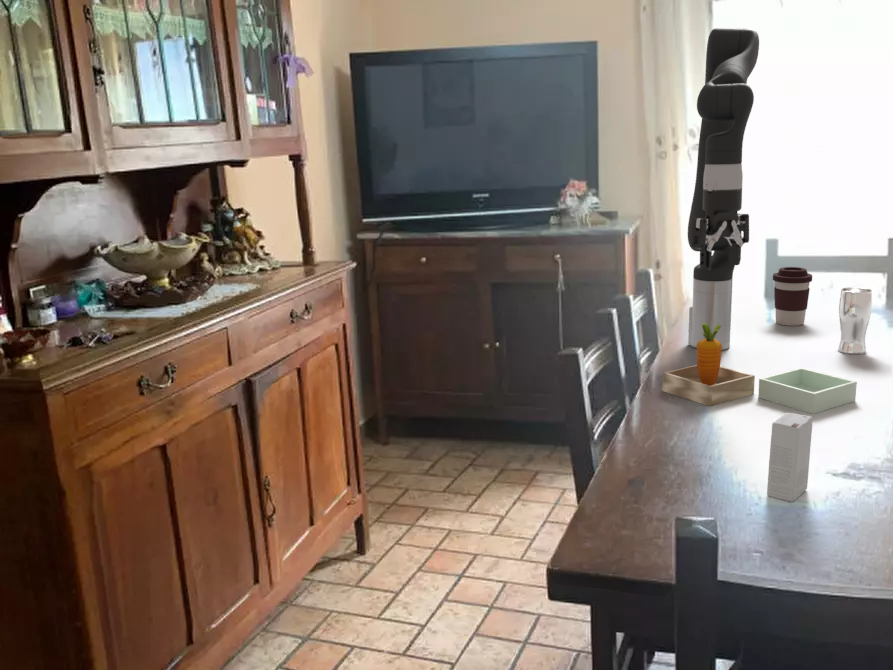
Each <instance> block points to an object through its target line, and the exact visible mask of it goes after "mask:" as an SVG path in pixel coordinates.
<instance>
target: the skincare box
mask: <svg viewBox="0 0 893 670" xmlns="http://www.w3.org/2000/svg"><path fill="white" fill-rule="evenodd" d="M813 420H814V419H813V417H812V416H809V415H804V414H798V413H792V412H785V413H784V414H782V415H781V416H780V417H779V418H777V419H776V420H775V421H773V422H772V424H771V435H770V436H771V437H770V449H769V459H768V460H769V462H768V475H767V488H766V489H767V490H766V495H767V496H768V497H771V498H774V499H778V500H782V501H787V502H791V503H792V502H794V501H796V499H798V498H799V497H800V496H801V495H802V494H803V493H805V491H806V490H807V489H808V484H809V483H808V481H809V472H810V471H809V470H810V469H809V468H810V459H811V458H810V457H811V445H812V443H811V442H812V434H813V432H812V431H813V422H814V421H813Z"/></svg>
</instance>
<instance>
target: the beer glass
mask: <svg viewBox="0 0 893 670" xmlns="http://www.w3.org/2000/svg"><path fill="white" fill-rule="evenodd" d="M872 298H873V297H872V289H870V288H865V287H859V286H858V287H854V286H852V287H842V288H841V290H840V298H839V306H838V316H839V317H838V318H839V326H840V341H839V346H838V349H837V350H838V352H839V353H841V354H846V355H863V354H866V353H867V347H866V334H867V330H868V328H869V327H868V326H869V323H870V319H871V314H872V307H873V306H872V304H873V301H872V300H873V299H872Z"/></svg>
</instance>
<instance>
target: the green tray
mask: <svg viewBox="0 0 893 670" xmlns="http://www.w3.org/2000/svg"><path fill="white" fill-rule="evenodd" d="M857 383H858V382H857V381H855V380H852V379H847V378H844V377H839V376H835V375H831V374H827V373H823V372H820V371H815V370H811V369H808V368H802V367H799V368H795V369H791V370H788V371H784V372H779V373H776V374H771V375H768V376H765V377H764V376H763V377H761V378H759V379H758V396H757V397H758V398H759V399H763V400H766V401H769V402H772V403H775V404H776V403H777V404H778V405H783V406H784V407H785V406H786V407H788V408H789V407H790V408H792V409H796V410H799V411H803V412H806V413H810V414H812V415H814V414H817V413H820V412H823V411H826V410H830V409H832V408H836V407H840V406H843V405H846V404H849V403H854V402H856V397H857V396H856V394H857Z"/></svg>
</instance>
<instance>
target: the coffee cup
mask: <svg viewBox="0 0 893 670" xmlns="http://www.w3.org/2000/svg"><path fill="white" fill-rule="evenodd" d="M772 280H773V281H774V289H773V292H774V293H773V294H774V295H773V296H774V309H775V323H777V324H778V325H782V326H789V327H793V326H794V327H799V326H801V325H804V323H805V319H806V314H807V309H808V304H809V303H808V301H809V296H810V283H811V282H812V281H813V274H811V273H809V272H808V270H807V268H804V267H800V266H798V267H797V266H784V267H780V268H779V269H778V271H777V272H775V273H773V274H772Z"/></svg>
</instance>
